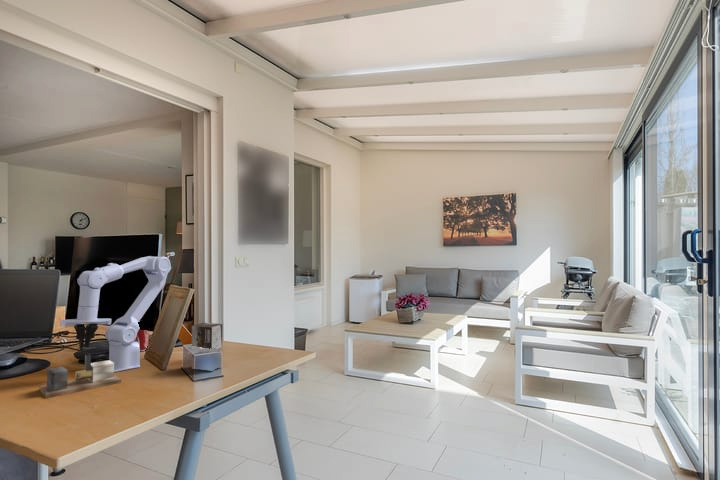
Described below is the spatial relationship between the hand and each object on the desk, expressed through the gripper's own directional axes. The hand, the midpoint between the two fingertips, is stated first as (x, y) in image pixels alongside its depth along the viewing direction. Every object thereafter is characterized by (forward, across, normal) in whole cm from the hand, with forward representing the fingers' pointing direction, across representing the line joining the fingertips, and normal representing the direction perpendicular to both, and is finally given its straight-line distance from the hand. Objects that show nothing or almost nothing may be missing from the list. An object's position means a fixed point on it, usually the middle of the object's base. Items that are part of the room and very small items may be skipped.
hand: (83, 346), depth 141 cm
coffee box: (+8, -35, +18) cm, 41 cm away
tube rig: (+11, +2, +8) cm, 14 cm away
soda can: (+8, -28, -26) cm, 39 cm away
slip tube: (+9, -1, +8) cm, 12 cm away
